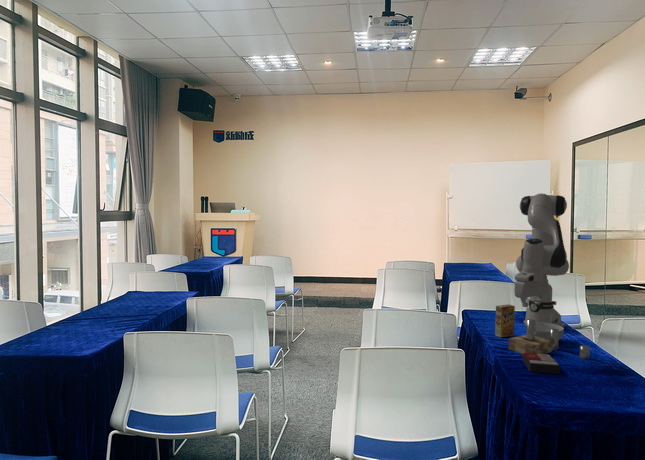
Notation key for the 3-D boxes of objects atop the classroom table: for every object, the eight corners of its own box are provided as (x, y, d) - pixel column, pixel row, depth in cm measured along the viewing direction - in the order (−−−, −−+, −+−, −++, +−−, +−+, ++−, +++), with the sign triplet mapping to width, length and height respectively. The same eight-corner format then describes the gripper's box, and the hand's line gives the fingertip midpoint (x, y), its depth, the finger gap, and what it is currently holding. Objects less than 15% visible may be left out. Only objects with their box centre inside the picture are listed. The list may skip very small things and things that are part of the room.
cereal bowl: (528, 333, 237) (529, 320, 237) (565, 339, 228) (565, 325, 228) (522, 342, 223) (523, 327, 223) (561, 348, 214) (562, 333, 214)
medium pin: (552, 347, 215) (553, 328, 215) (559, 349, 212) (560, 329, 212) (547, 348, 214) (548, 329, 213) (555, 350, 210) (555, 331, 210)
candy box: (500, 337, 230) (501, 307, 229) (494, 335, 233) (495, 305, 232) (514, 335, 233) (515, 305, 232) (507, 333, 237) (509, 304, 236)
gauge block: (527, 344, 219) (527, 334, 219) (551, 351, 209) (551, 340, 208) (508, 349, 212) (508, 338, 211) (532, 357, 201) (532, 345, 201)
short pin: (582, 355, 204) (583, 344, 203) (590, 358, 200) (591, 347, 200) (577, 357, 202) (578, 346, 201) (586, 359, 199) (586, 348, 198)
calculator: (549, 353, 196) (560, 364, 181) (549, 363, 196) (560, 374, 181) (521, 351, 198) (530, 361, 183) (521, 361, 198) (530, 372, 184)
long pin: (528, 348, 213) (530, 318, 212) (536, 351, 210) (537, 320, 209) (524, 350, 211) (525, 319, 210) (531, 352, 208) (532, 321, 207)
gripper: (540, 272, 216) (539, 301, 217) (512, 276, 205) (511, 306, 206) (553, 274, 211) (551, 304, 212) (524, 278, 200) (523, 309, 201)
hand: (531, 305), depth 209 cm, fingers open, 8 cm apart
